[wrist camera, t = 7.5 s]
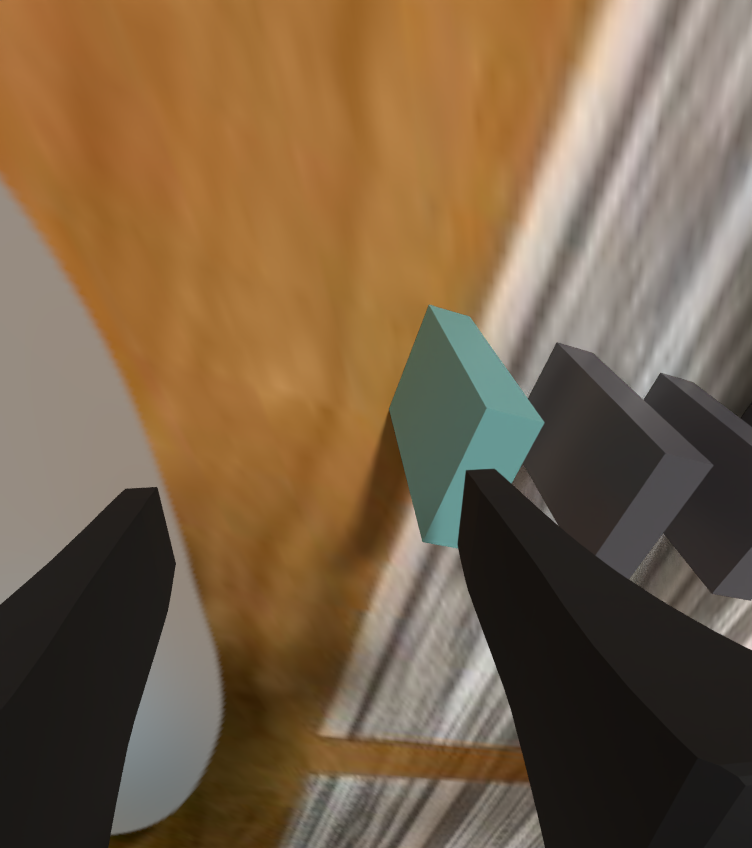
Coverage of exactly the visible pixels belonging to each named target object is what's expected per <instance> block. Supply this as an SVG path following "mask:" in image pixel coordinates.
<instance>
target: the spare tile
mask: <svg viewBox="0 0 752 848" xmlns="http://www.w3.org/2000/svg"><path fill="white" fill-rule="evenodd" d="M389 411H390V415H391V419H392V423H393V427H394V431H395V435H396V439H397V443H398V447H399V451H400V455H401V459H402V462H403V466H404V470H405V474H406V478H407V482H408V486H409V490H410V494H411V498H412V502H413V506H414V510H415V514H416V518H417V522H418V526H419V530H420V534H421V538H422V542H425V543H431V544H436V545H442V546H448V547H453V548H458V545H457V543H458V534H459V526H460V517H461V508H462V499H463V490H464V482H465V473H466V470H477V469H496V470H497V471H498V472H499V473H500V474H501V475H502V476H504V477H505V478H506V479H507V480H508V481H509V482H510V483H512V482H513V480H514V478H515V476H516V474H517V472H518V471H519V469H520V467H521V465H522V463H523V461H524V460H525V458H526V456H527V454H528V452H529V450H530V448H531V447H532V445H533V443H534V441H535V439H536V437H537V436H538V434H539V432H540V430H541V428H542V426H543V425H544V423H545V422H544V421H543V420H542V418H541V417H540V415H539V414H538V413H537V411H536V410H535V408H534V407H533V406H532V404H531V403H530V401H529V400H528V398H527V397H526V396H525V394H524V393H523V391H522V390H521V389H520V387H519V386H518V384H517V383H516V381H515V380H514V379H513V377H512V376H511V374H510V373H509V372H508V370H507V369H506V367H505V366H504V364H503V363H502V362H501V360H500V359H499V357H498V356H497V355H496V353H495V352H494V350H493V349H492V348H491V346H490V345H489V343H488V342H487V340H486V339H485V338H484V336H483V335H482V333H481V332H480V331H479V329H478V328H477V326H476V325H475V323H474V322H473V321H472V319H471V318H470V317H469V316H466V315H462V314H459V313H456V312H452V311H449V310H445V309H442V308H438V307H435V306H432V305H429V306H428V309H427V311H426V314H425V316H424V319H423V322H422V324H421V327H420V330H419V332H418V335H417V337H416V340H415V343H414V345H413V348H412V350H411V353H410V356H409V358H408V361H407V363H406V366H405V369H404V371H403V374H402V377H401V379H400V382H399V384H398V387H397V390H396V392H395V395H394V397H393V400H392V403H391V405H390V408H389Z"/></svg>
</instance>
